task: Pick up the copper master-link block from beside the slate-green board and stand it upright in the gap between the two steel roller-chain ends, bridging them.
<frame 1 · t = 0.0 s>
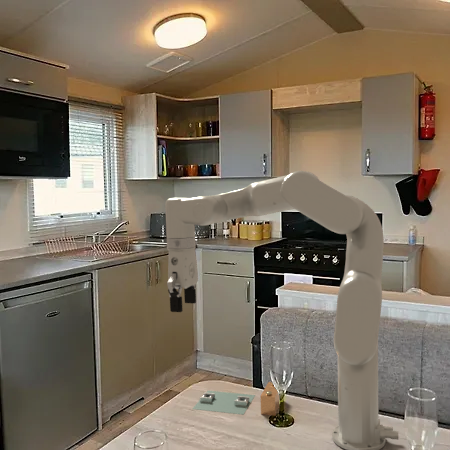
hand: (183, 307, 133), 31 cm above the table, tool pointing down, fingers open, 9 cm apart
master link: (272, 410, 140), on the table
chain ends: (224, 401, 144), resting on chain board
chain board: (224, 404, 144), on the table
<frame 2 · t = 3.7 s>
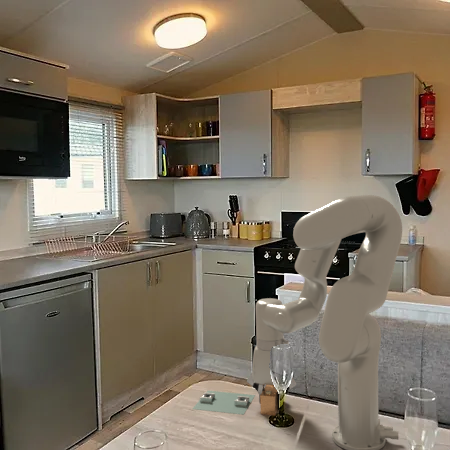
hand: (271, 406, 140), 1 cm above the table, tool pointing down, fingers closed on master link, 4 cm apart
master link: (271, 409, 140), on the table, touching gripper
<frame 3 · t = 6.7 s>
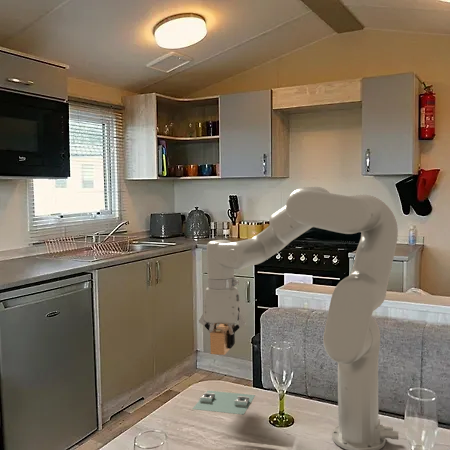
hand: (223, 345, 143), 17 cm above the table, tool pointing down, fingers closed on master link, 4 cm apart
master link: (223, 348, 143), point 17 cm above the table, touching gripper
when the fingers open (3 cm above the table, at t = 9.7 s): master link drops 1 cm, resting on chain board.
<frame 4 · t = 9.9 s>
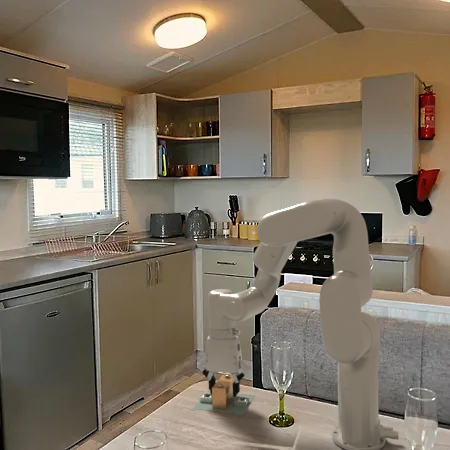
hand: (224, 393, 144), 3 cm above the table, tool pointing down, fingers open, 6 cm apart
master link: (224, 401, 144), point 1 cm above the table, touching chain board
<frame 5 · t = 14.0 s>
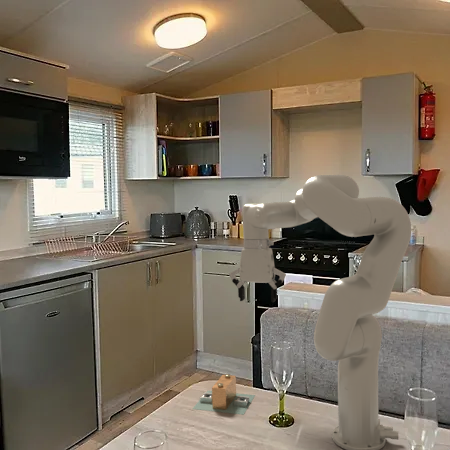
hand: (257, 300, 150), 28 cm above the table, tool pointing down, fingers open, 9 cm apart
nothing on the table moved.
at the end: master link 0.1 cm off-centre on the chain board, point 0.8 cm above the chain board's base; master link tilted 0°; the gripper is holding nothing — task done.
